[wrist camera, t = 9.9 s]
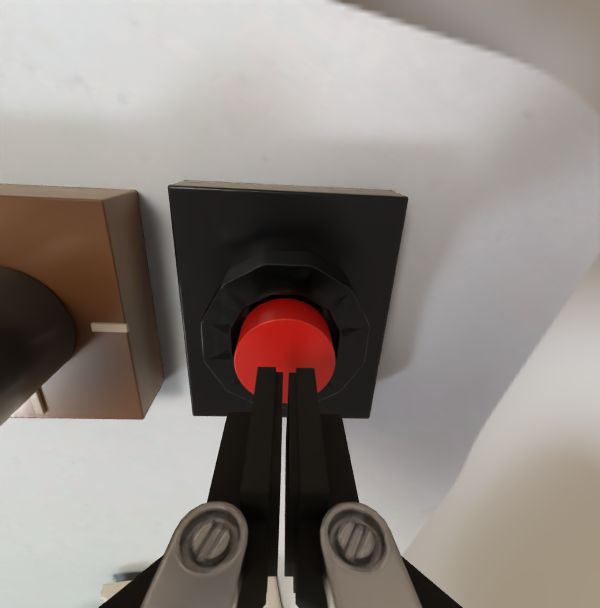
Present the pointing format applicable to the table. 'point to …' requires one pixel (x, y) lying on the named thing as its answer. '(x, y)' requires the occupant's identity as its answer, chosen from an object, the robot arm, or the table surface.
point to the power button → (284, 343)
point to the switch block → (284, 279)
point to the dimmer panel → (88, 296)
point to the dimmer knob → (29, 338)
